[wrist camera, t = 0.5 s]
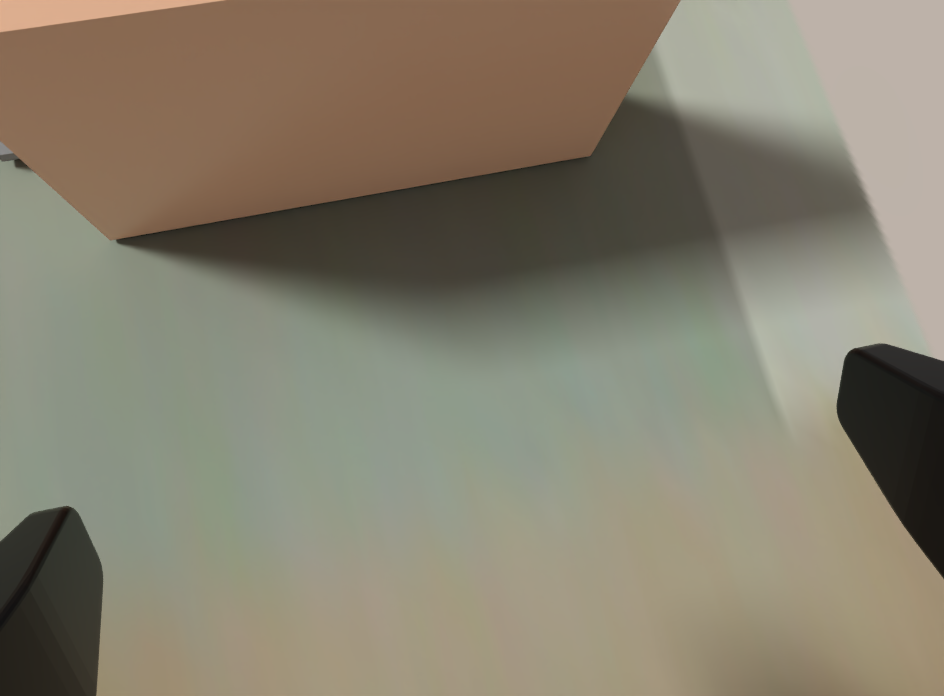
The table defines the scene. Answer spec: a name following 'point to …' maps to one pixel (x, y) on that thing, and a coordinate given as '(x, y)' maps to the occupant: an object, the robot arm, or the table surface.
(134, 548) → the table surface
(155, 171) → the terracotta tile
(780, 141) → the table surface
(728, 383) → the table surface
